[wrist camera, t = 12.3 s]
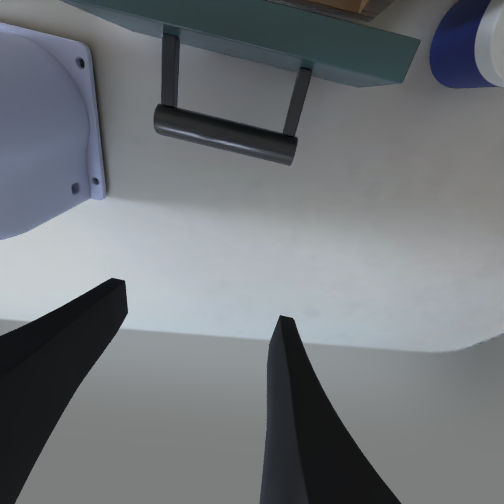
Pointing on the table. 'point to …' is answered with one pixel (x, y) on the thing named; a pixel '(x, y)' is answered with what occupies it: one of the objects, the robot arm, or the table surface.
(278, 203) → the table surface
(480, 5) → the blue jar
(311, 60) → the drawer
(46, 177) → the robot arm
